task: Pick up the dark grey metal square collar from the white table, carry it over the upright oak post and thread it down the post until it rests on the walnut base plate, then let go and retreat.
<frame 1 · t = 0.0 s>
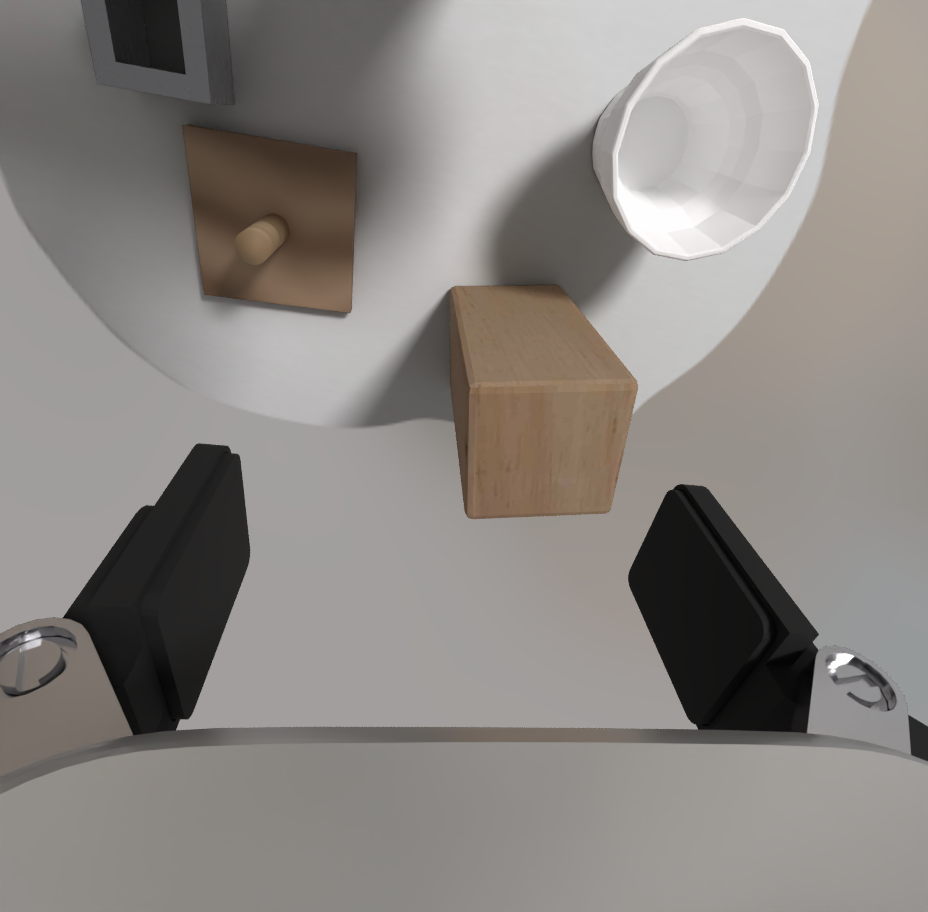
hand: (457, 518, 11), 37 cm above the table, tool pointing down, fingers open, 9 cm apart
wooden block: (502, 337, 48), on the table
post base: (278, 225, 41), on the table
cup: (644, 143, 40), on the table
collar: (178, 36, 34), on the table
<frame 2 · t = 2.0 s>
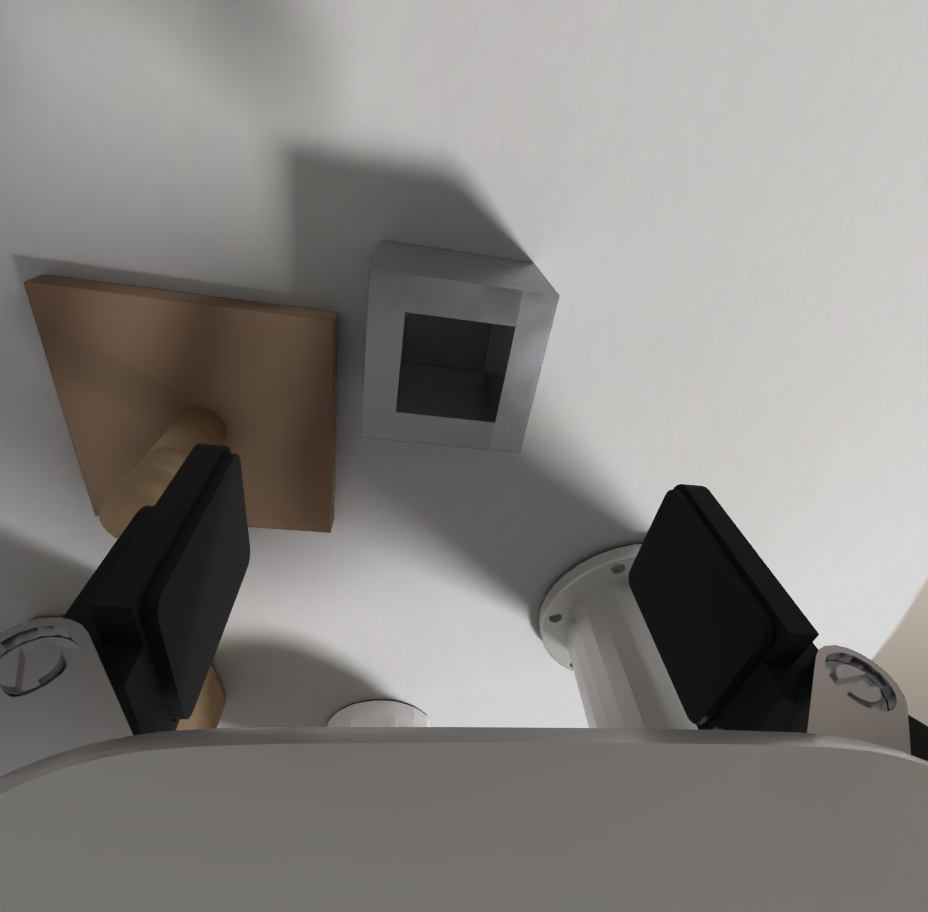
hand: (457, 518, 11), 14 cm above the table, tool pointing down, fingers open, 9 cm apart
wooden block: (138, 657, 35), on the table
post base: (211, 416, 25), on the table
cup: (379, 726, 41), on the table
collar: (448, 327, 23), on the table
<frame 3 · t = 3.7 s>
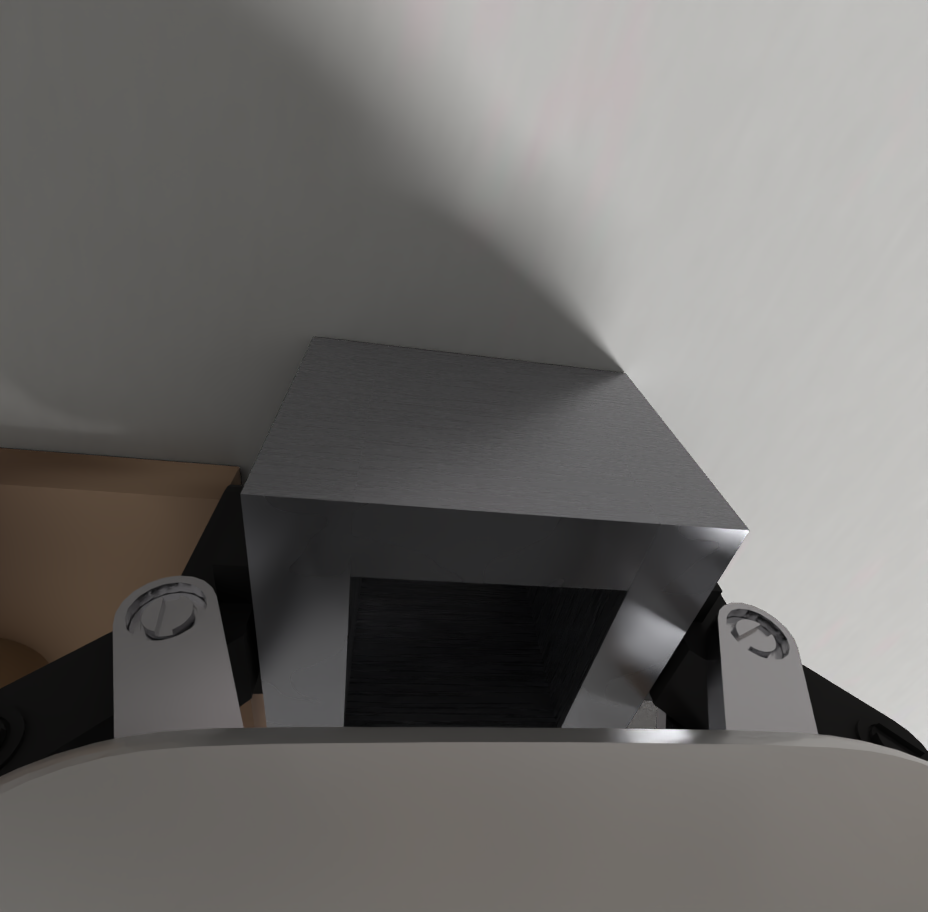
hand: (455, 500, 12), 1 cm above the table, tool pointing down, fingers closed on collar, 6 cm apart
post base: (31, 624, 14), on the table
collar: (454, 482, 12), on the table, touching gripper
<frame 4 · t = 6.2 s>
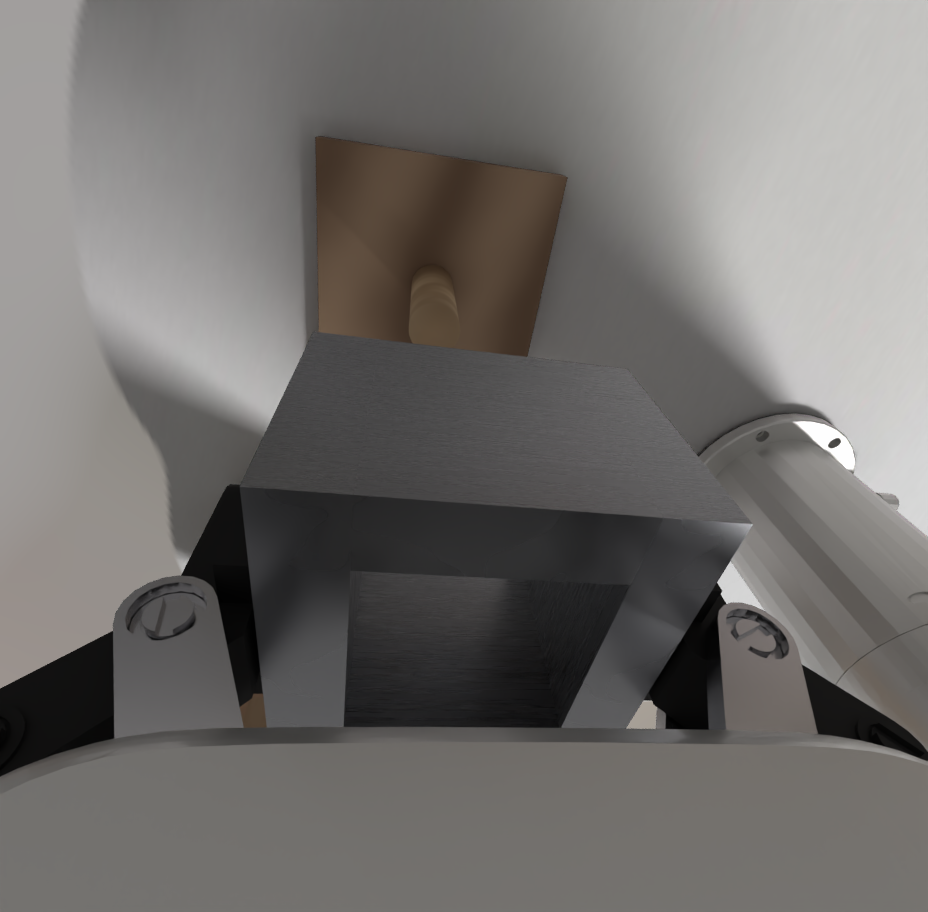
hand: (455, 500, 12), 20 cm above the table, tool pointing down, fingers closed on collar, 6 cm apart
wooden block: (312, 534, 38), on the table
post base: (431, 279, 28), on the table
collar: (454, 478, 12), point 19 cm above the table, touching gripper
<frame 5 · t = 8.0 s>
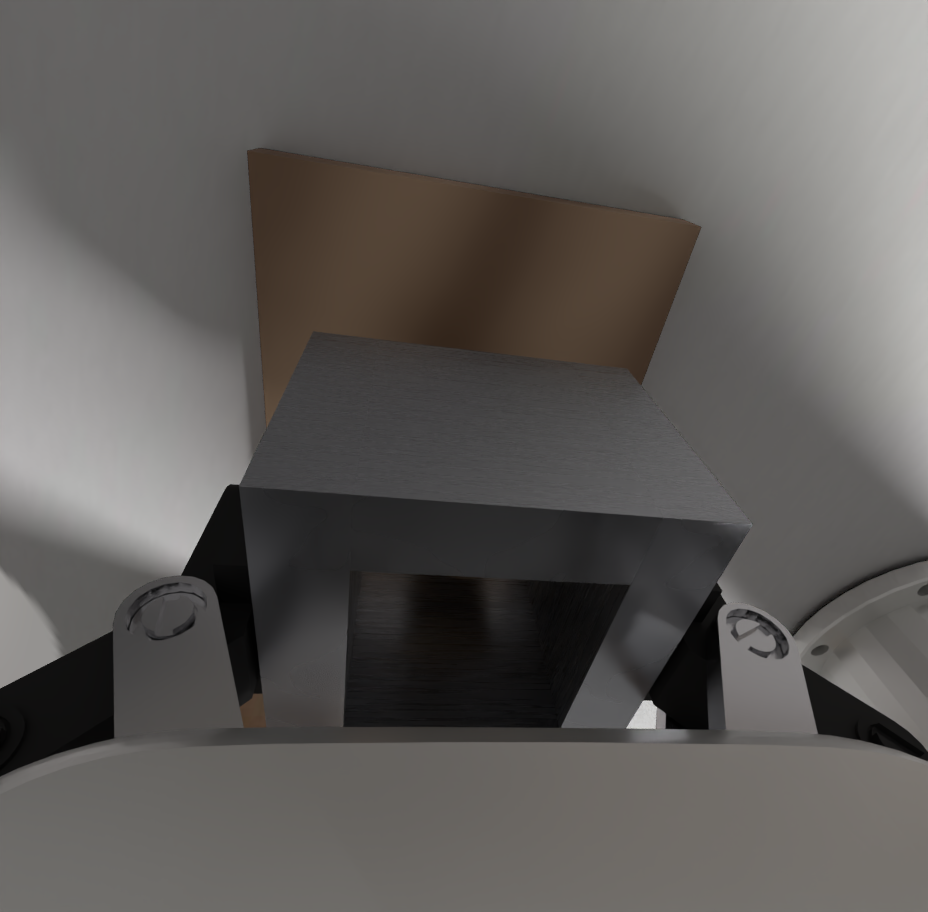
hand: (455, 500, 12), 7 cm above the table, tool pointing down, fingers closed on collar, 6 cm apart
wooden block: (273, 697, 28), on the table
post base: (453, 380, 17), on the table
collar: (454, 478, 12), point 6 cm above the table, touching gripper
when the fingers open (4 cm above the table, at t = 9.1 s): collar drops 2 cm, resting on post base.
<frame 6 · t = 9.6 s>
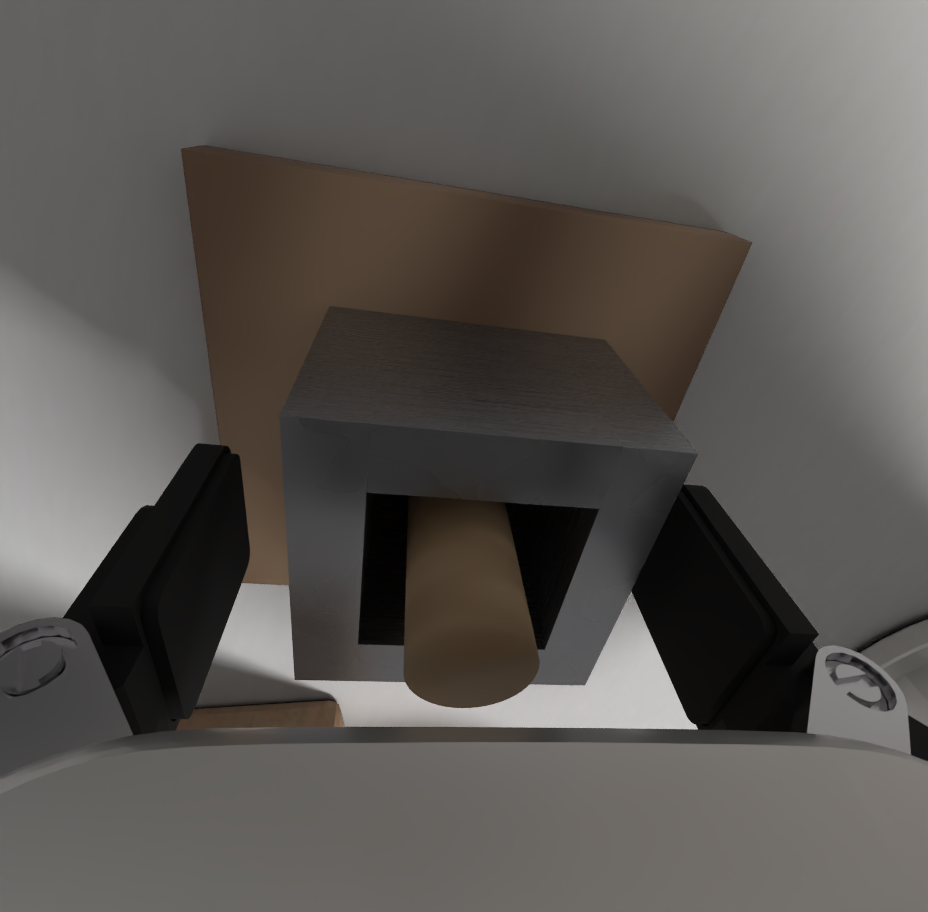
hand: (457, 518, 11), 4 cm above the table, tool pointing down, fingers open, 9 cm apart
wooden block: (251, 754, 25), on the table
post base: (448, 420, 15), on the table
collar: (453, 440, 14), point 1 cm above the table, touching post base
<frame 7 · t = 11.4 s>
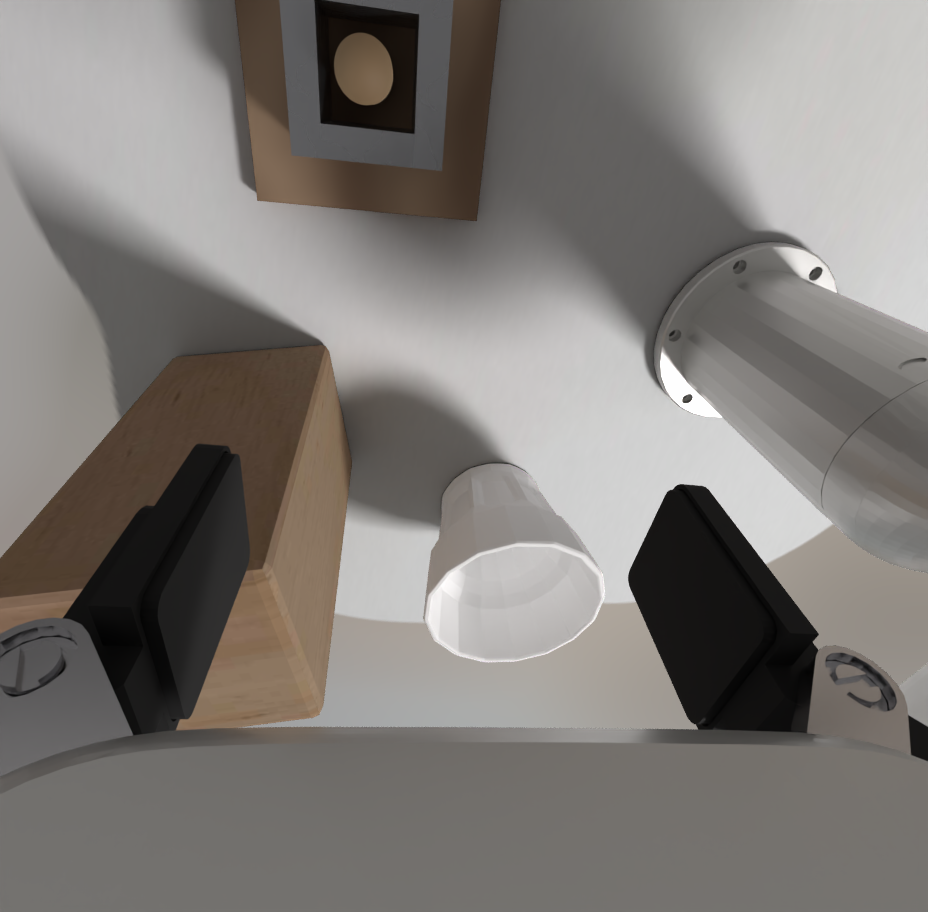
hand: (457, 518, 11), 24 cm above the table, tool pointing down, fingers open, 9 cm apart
wooden block: (271, 412, 36), on the table
post base: (371, 78, 26), on the table
cup: (490, 501, 43), on the table
collar: (372, 76, 25), point 1 cm above the table, touching post base
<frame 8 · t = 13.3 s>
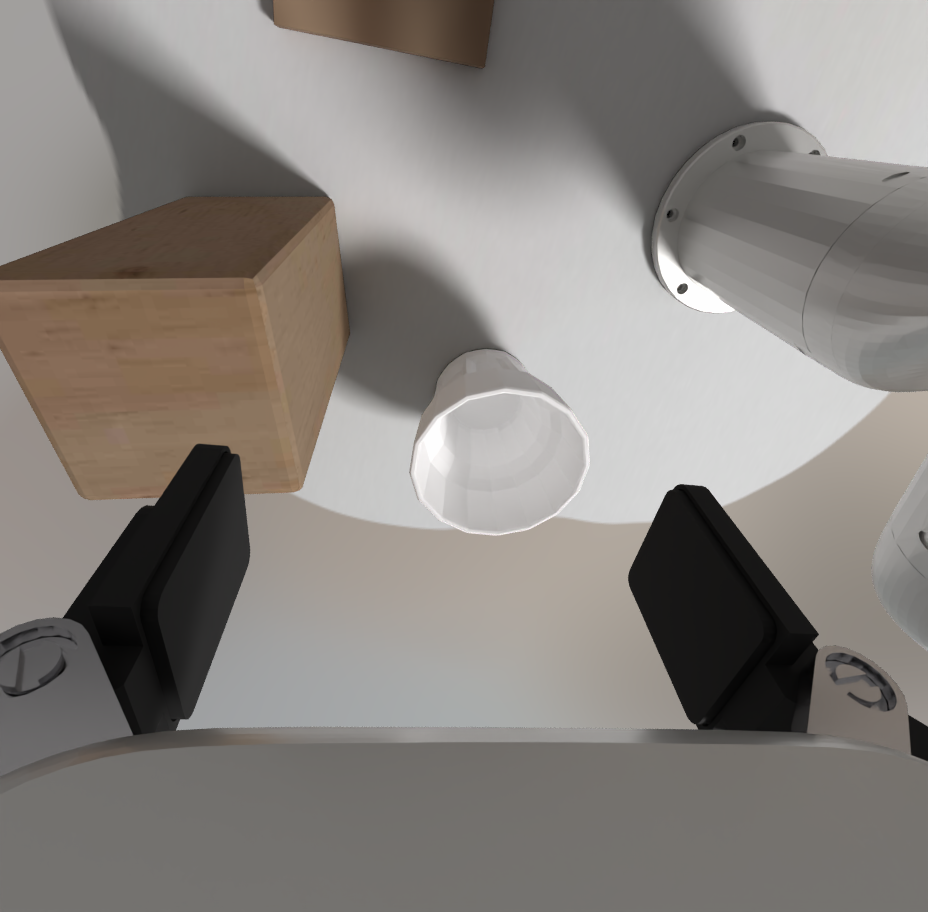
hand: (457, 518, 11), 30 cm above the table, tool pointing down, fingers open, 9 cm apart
wooden block: (274, 271, 37), on the table
cup: (483, 393, 44), on the table
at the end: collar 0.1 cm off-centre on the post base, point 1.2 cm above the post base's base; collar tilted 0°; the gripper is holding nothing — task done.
